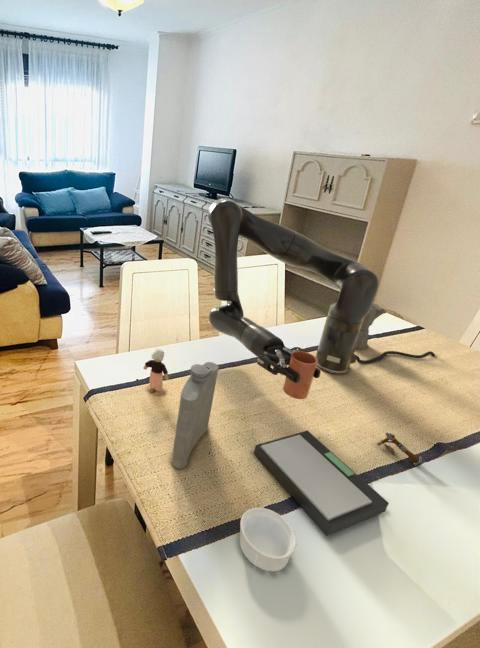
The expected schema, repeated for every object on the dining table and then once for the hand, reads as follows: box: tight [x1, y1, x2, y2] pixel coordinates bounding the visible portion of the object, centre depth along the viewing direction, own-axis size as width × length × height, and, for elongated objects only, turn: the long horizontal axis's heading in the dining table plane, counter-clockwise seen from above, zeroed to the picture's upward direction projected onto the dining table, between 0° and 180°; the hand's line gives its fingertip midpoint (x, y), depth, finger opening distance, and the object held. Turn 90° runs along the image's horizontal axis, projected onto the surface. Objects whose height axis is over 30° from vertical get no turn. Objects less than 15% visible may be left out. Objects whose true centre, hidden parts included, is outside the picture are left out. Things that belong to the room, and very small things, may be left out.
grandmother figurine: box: [143, 348, 170, 396], centre depth 102 cm, size 8×4×13 cm, turn 65°
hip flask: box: [170, 361, 220, 470], centre depth 83 cm, size 16×4×20 cm, turn 148°
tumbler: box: [282, 351, 318, 400], centre depth 94 cm, size 6×6×10 cm
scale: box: [253, 430, 390, 537], centre depth 79 cm, size 15×20×3 cm
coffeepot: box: [334, 297, 387, 350], centre depth 133 cm, size 15×9×18 cm, turn 44°
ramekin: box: [239, 507, 297, 573], centre depth 65 cm, size 9×9×4 cm
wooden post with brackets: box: [376, 431, 423, 467], centre depth 87 cm, size 2×8×4 cm, turn 48°
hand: (308, 377), depth 91 cm, fingers closed on tumbler, 6 cm apart
